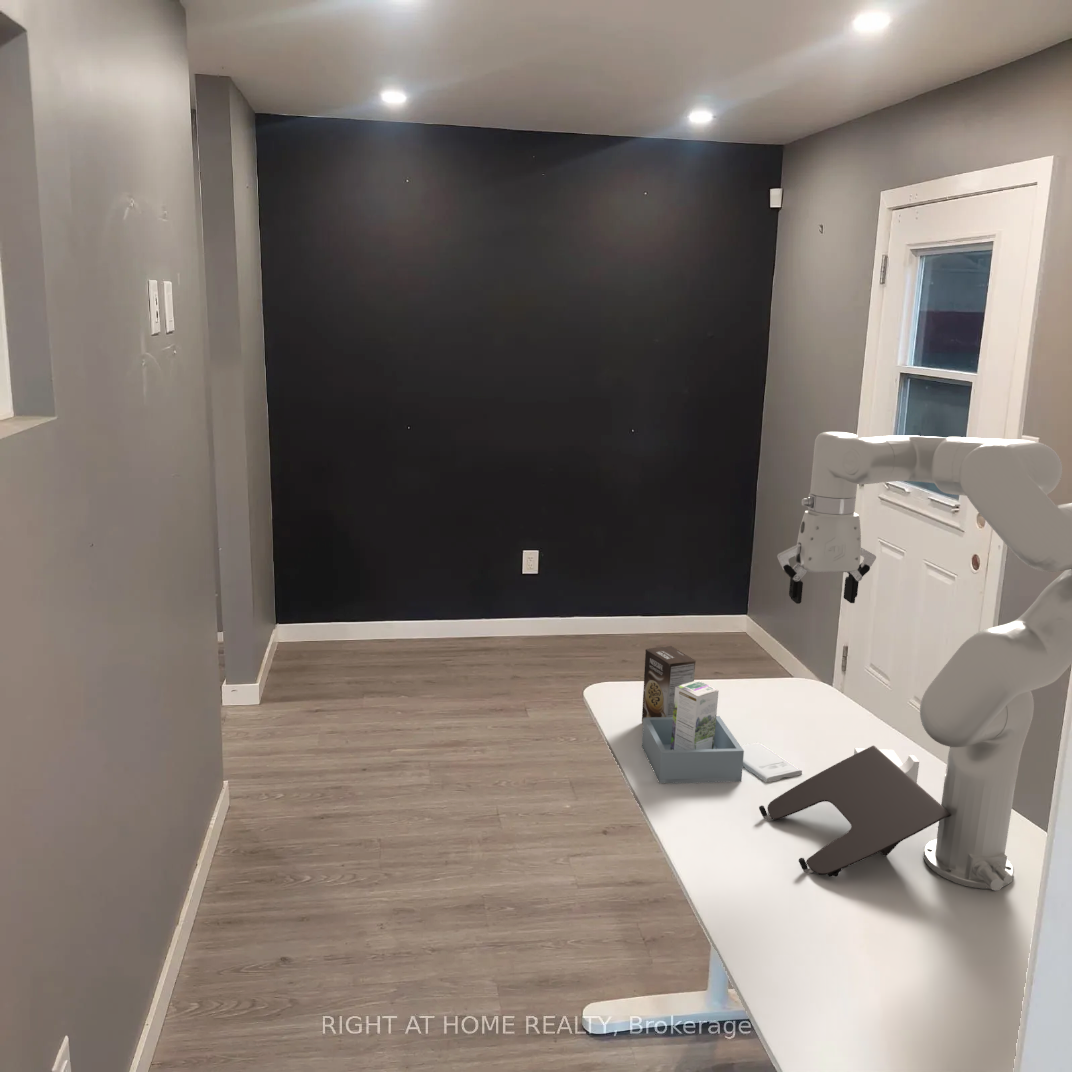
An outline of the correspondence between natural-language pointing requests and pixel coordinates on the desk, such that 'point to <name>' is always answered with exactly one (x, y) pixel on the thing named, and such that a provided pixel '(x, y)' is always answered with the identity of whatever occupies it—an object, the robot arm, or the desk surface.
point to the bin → (691, 755)
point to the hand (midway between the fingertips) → (822, 601)
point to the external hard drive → (767, 763)
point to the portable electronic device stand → (861, 808)
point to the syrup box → (694, 716)
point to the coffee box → (664, 679)
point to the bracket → (908, 767)
